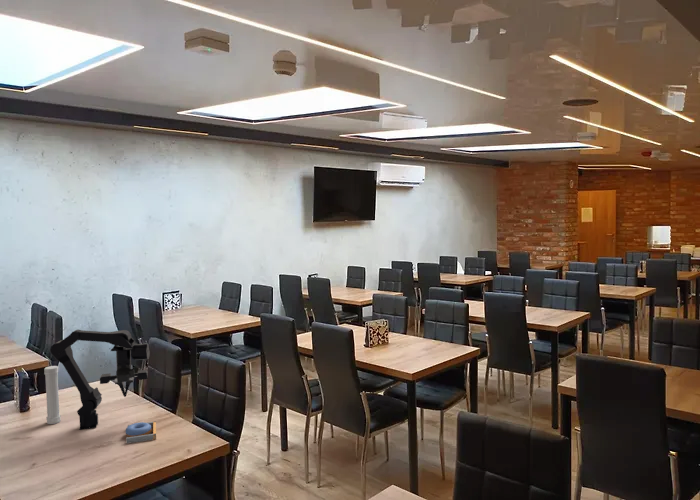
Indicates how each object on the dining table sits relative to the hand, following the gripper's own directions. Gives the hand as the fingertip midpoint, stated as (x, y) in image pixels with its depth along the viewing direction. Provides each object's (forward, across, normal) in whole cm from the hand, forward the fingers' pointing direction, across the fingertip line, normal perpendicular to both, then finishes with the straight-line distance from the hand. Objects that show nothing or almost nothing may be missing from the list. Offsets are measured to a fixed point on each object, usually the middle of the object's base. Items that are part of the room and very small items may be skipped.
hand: (125, 396), depth 233 cm
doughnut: (+12, +5, -14) cm, 20 cm away
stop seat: (+12, +6, -15) cm, 20 cm away
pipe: (+12, -30, +14) cm, 35 cm away
